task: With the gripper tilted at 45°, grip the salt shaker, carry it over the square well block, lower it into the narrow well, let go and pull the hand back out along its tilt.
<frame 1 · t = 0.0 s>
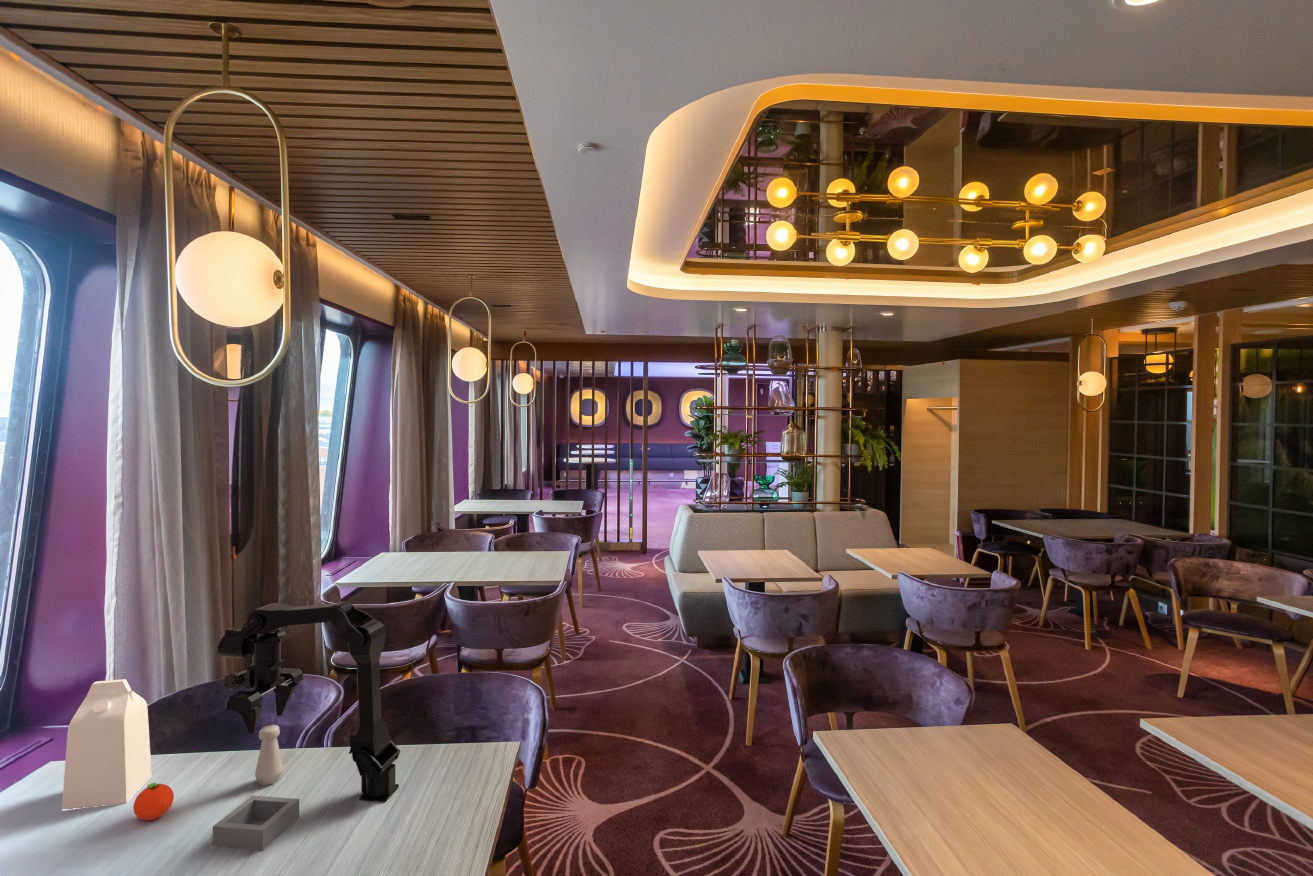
hand: (266, 724, 150), 15 cm above the table, tool pointing down, fingers open, 9 cm apart
clementine: (153, 817, 138), on the table
well block: (257, 831, 133), on the table
milk: (108, 794, 147), on the table
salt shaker: (269, 781, 152), on the table
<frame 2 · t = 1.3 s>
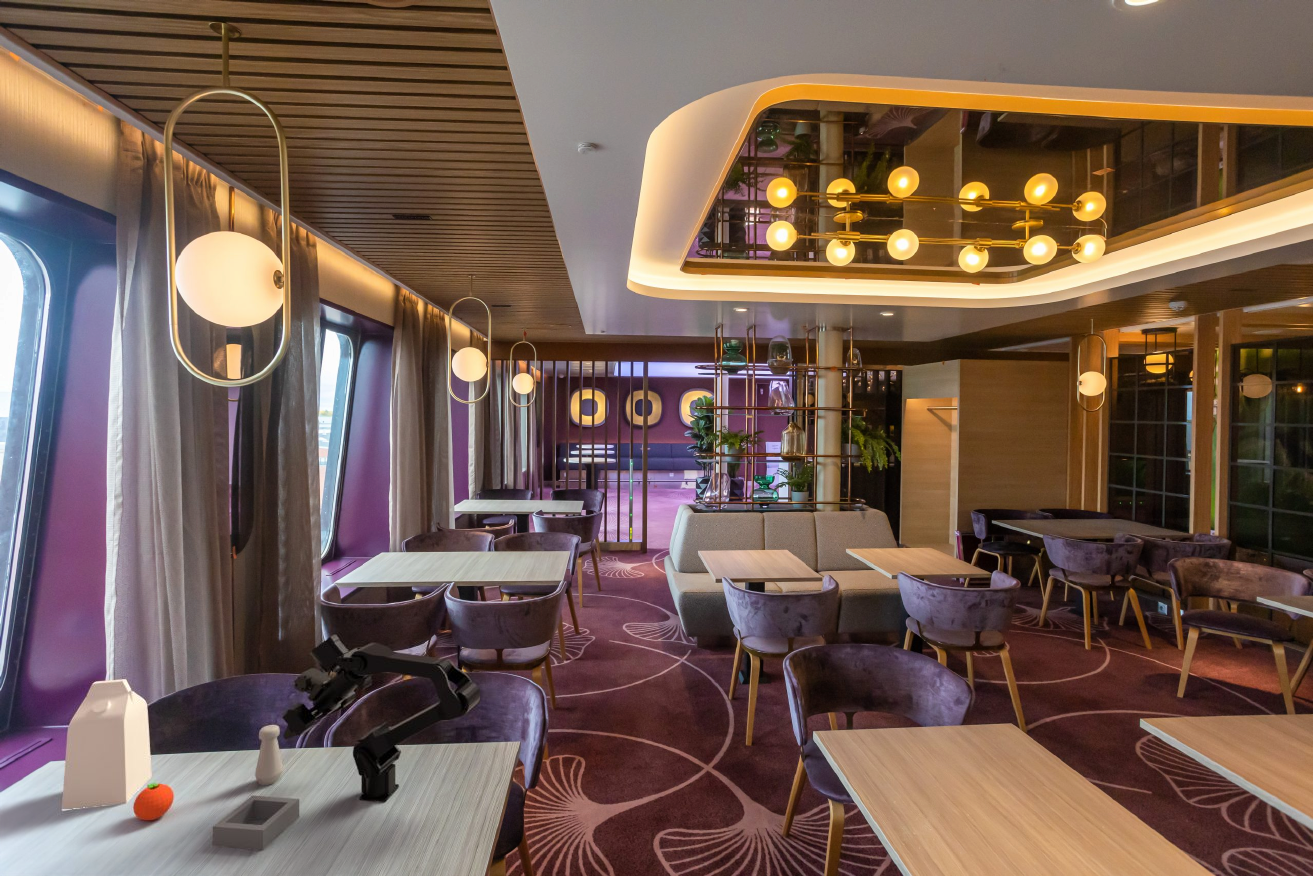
hand: (299, 728, 151), 13 cm above the table, tool tilted 45°, fingers open, 9 cm apart
nothing on the table moved.
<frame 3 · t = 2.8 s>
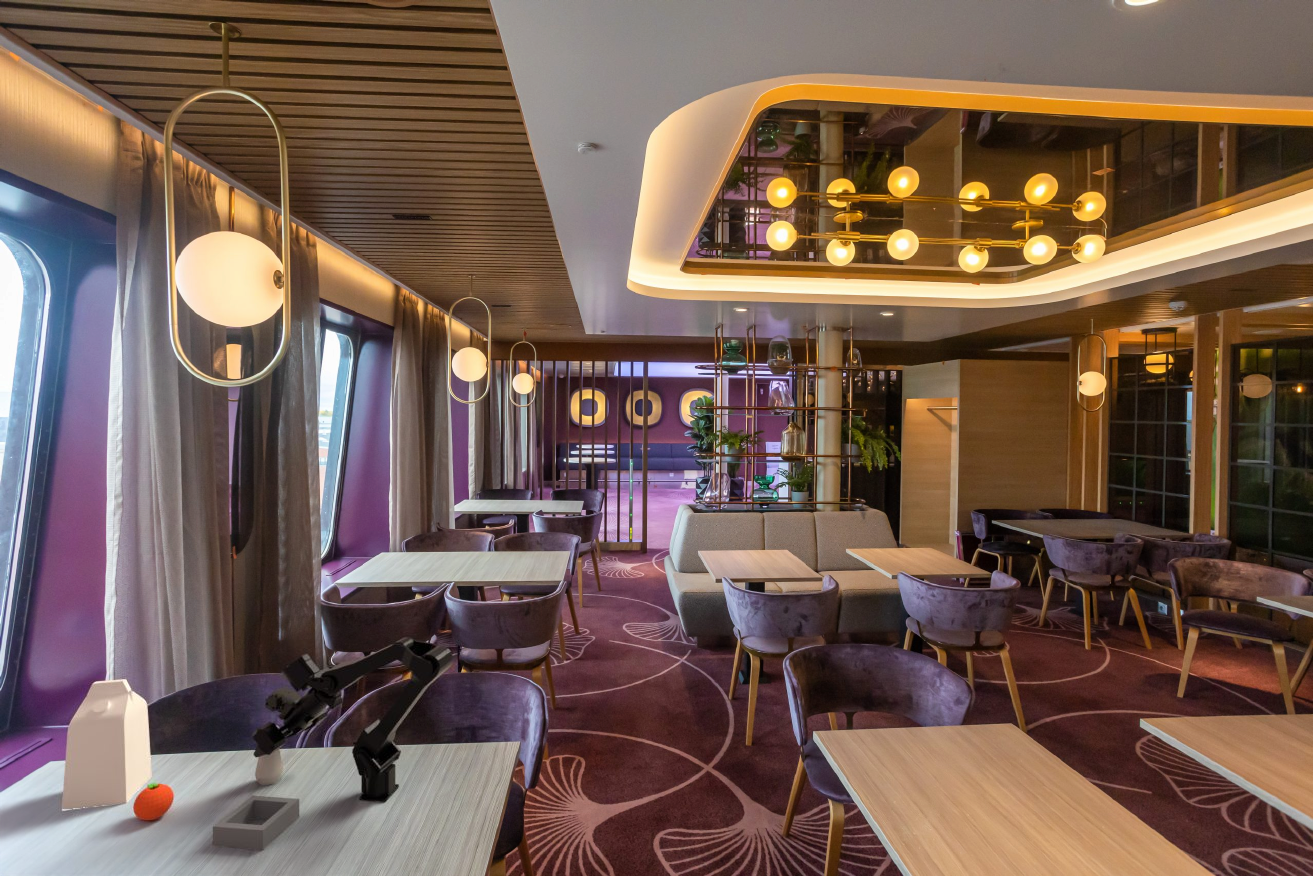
hand: (270, 746, 152), 8 cm above the table, tool tilted 45°, fingers open, 9 cm apart
nothing on the table moved.
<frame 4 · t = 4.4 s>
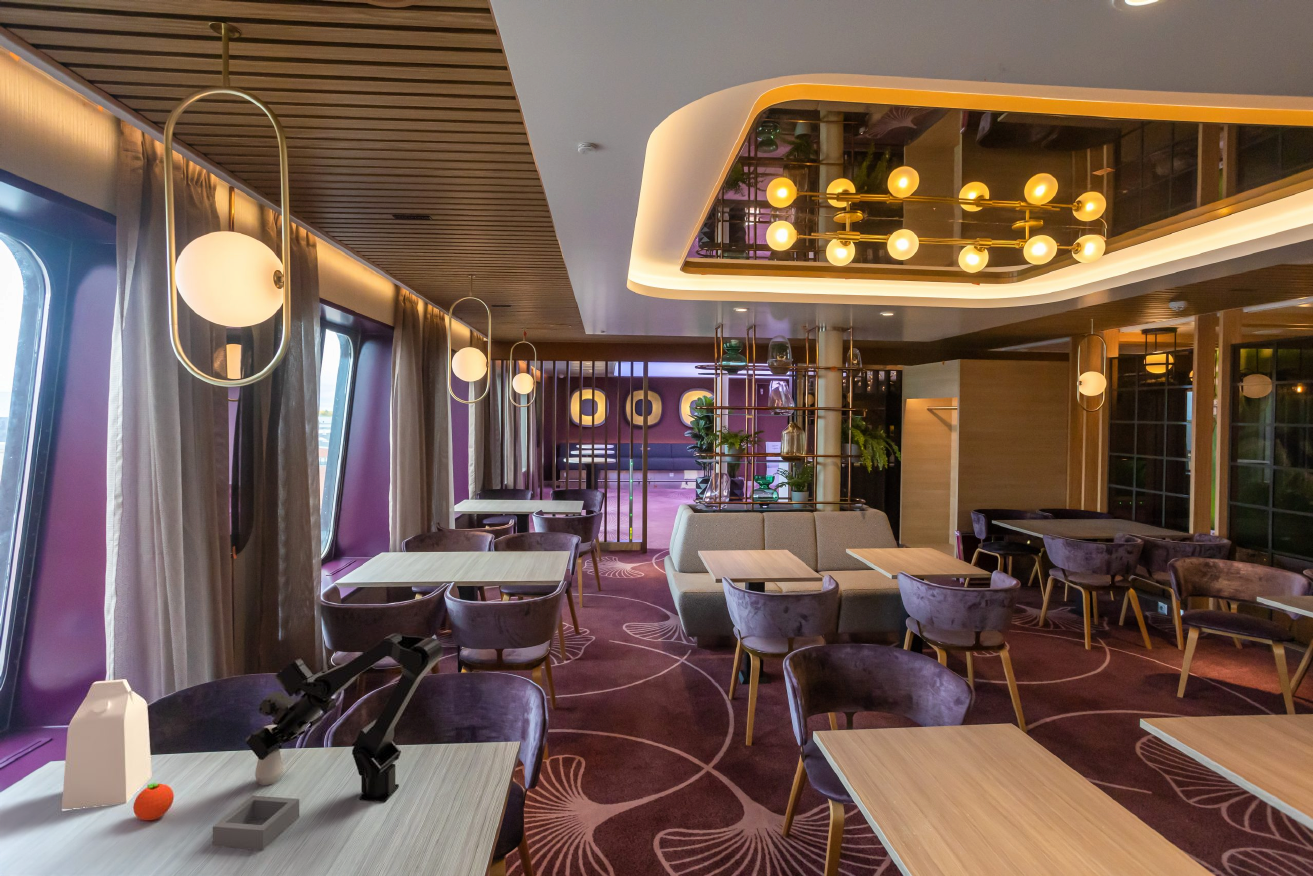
hand: (264, 751, 152), 7 cm above the table, tool tilted 45°, fingers closed on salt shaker, 3 cm apart
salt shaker: (269, 781, 152), on the table, touching gripper
everything else where it was.
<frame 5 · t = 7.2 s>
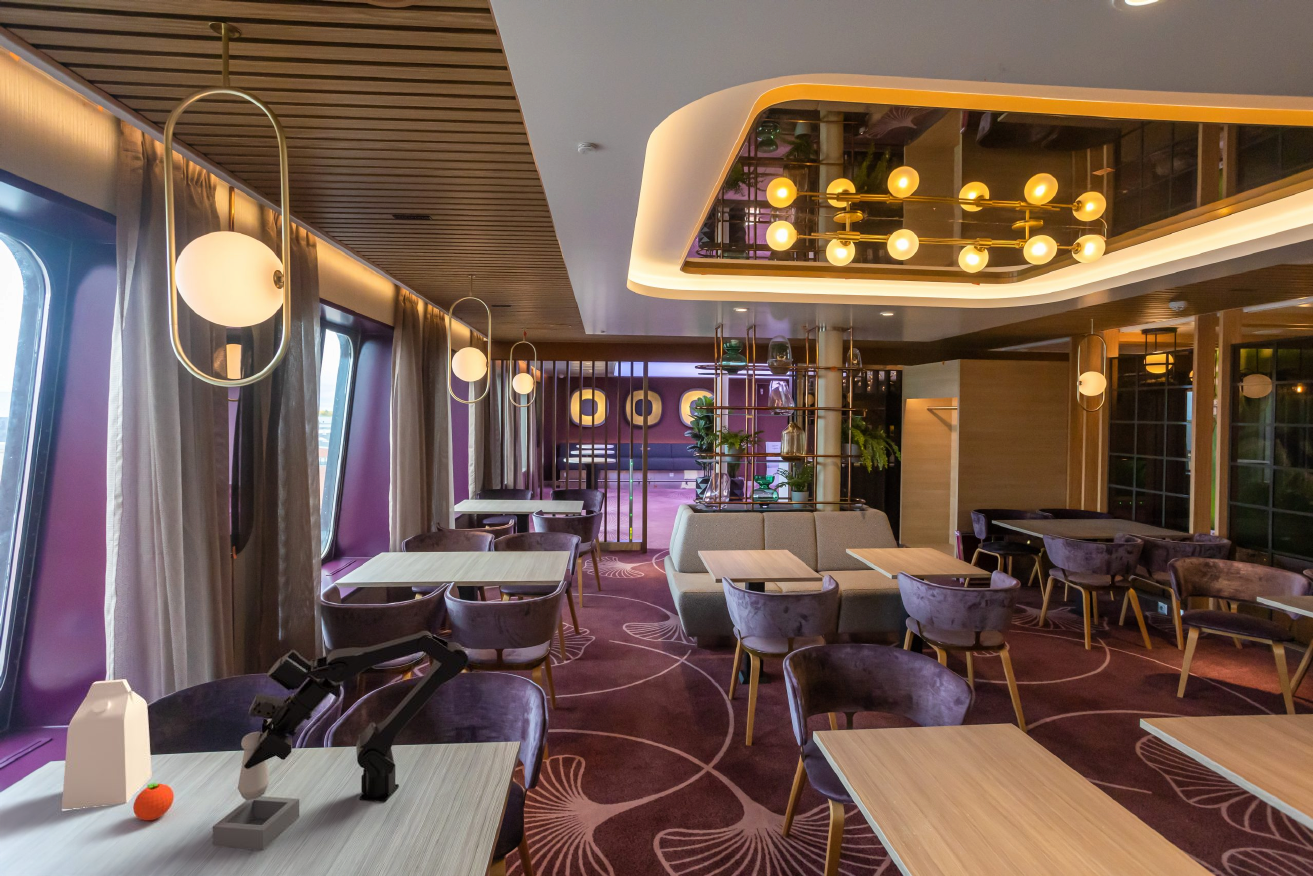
hand: (246, 763, 135), 13 cm above the table, tool tilted 45°, fingers closed on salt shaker, 3 cm apart
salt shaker: (254, 795, 136), point 6 cm above the table, touching gripper
everything else where it was.
when the fingers open (8 cm above the table, at t = 9.9 s): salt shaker stays where it is, resting in well block.
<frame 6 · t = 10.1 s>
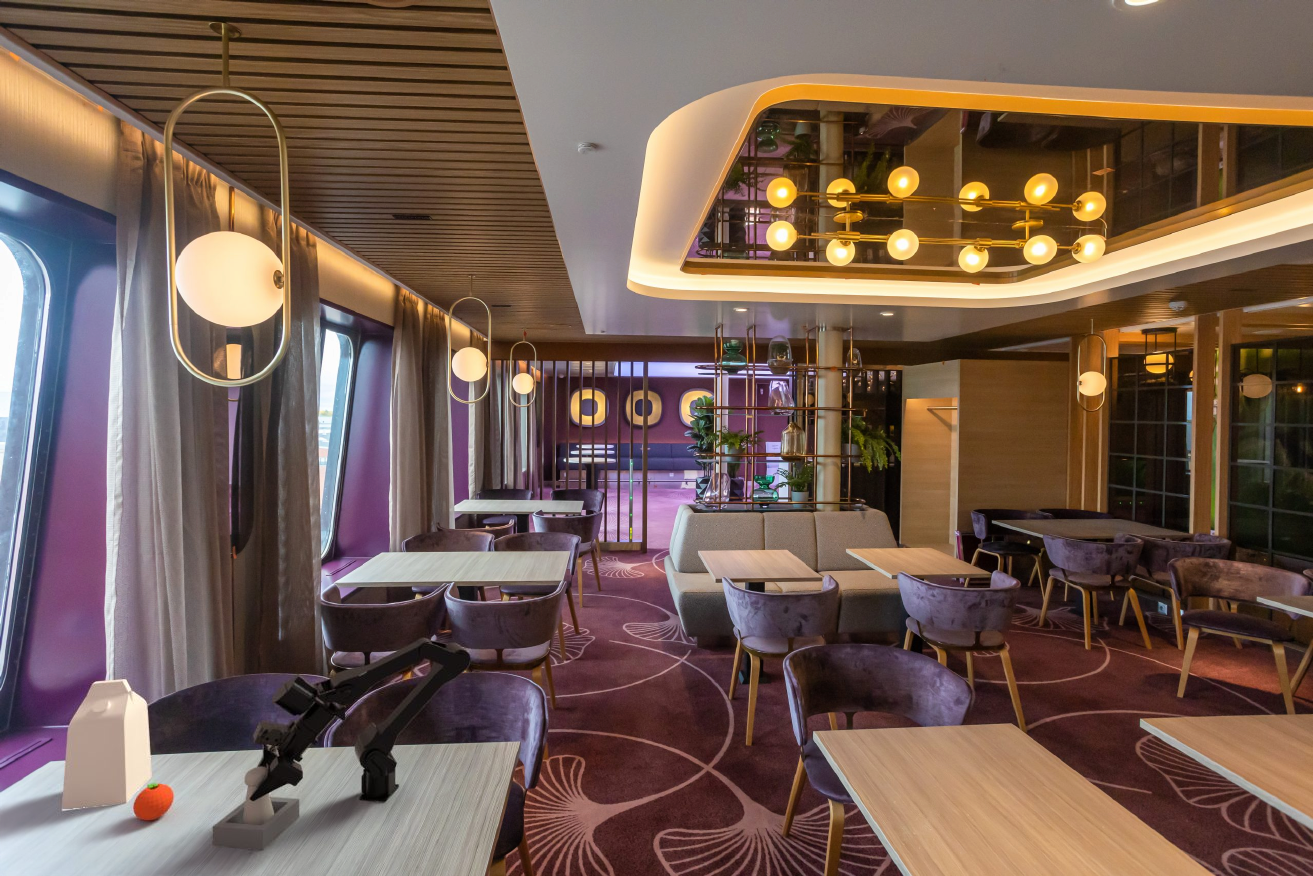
hand: (249, 792, 132), 9 cm above the table, tool tilted 45°, fingers open, 6 cm apart
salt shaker: (258, 831, 133), resting in well block
everything else where it was.
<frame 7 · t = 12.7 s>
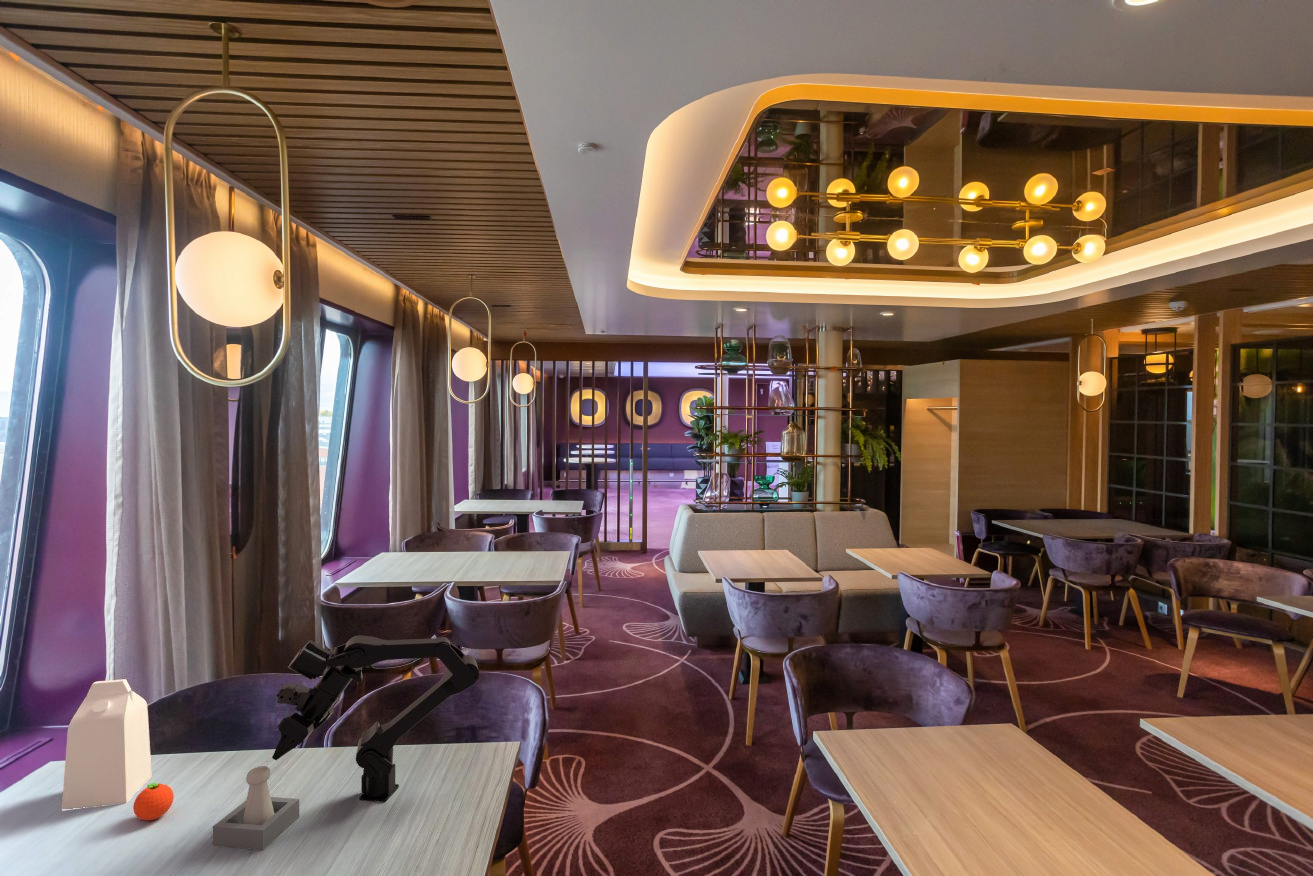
hand: (282, 751, 140), 13 cm above the table, tool tilted 35°, fingers open, 9 cm apart
nothing on the table moved.
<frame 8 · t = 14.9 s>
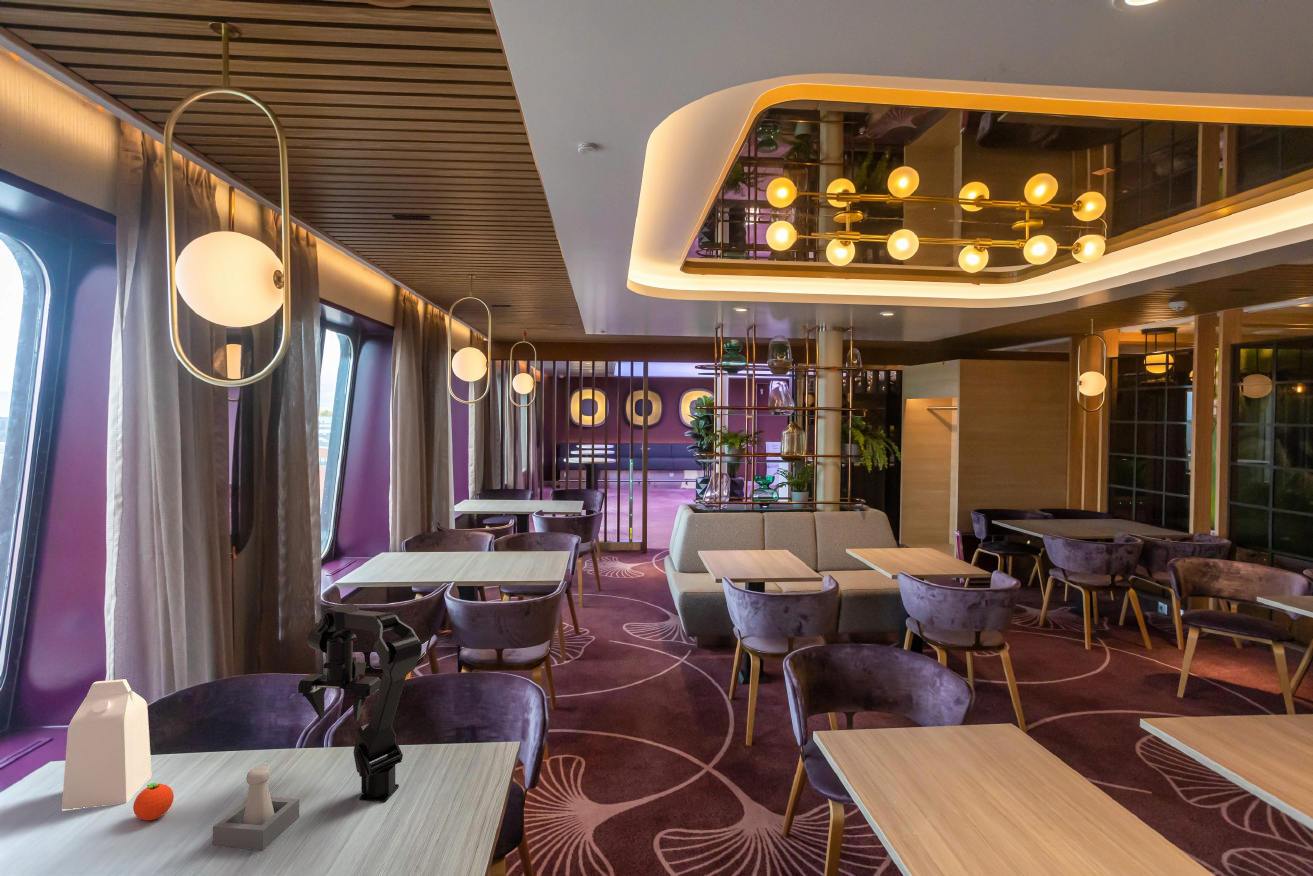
hand: (339, 719, 157), 13 cm above the table, tool pointing down, fingers open, 9 cm apart
nothing on the table moved.
at the end: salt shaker 0.2 cm off-centre on the well block, point 0.0 cm above the well block's base; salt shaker tilted 0°; the gripper is holding nothing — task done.
